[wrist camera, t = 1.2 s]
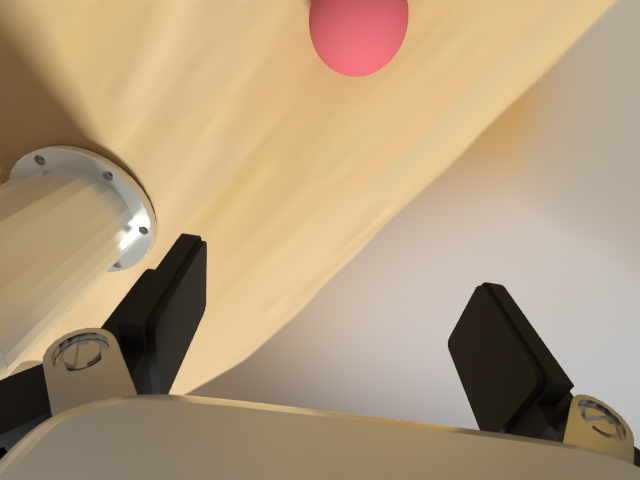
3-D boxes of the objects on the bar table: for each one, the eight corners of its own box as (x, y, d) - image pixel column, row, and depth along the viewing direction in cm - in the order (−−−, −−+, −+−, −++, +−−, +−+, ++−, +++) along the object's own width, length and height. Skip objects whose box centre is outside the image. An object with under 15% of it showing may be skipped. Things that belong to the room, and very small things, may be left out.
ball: (304, 59, 25) (295, 67, 20) (323, -45, 22) (319, -68, 17) (383, 81, 25) (395, 93, 20) (412, -18, 22) (436, -33, 17)
